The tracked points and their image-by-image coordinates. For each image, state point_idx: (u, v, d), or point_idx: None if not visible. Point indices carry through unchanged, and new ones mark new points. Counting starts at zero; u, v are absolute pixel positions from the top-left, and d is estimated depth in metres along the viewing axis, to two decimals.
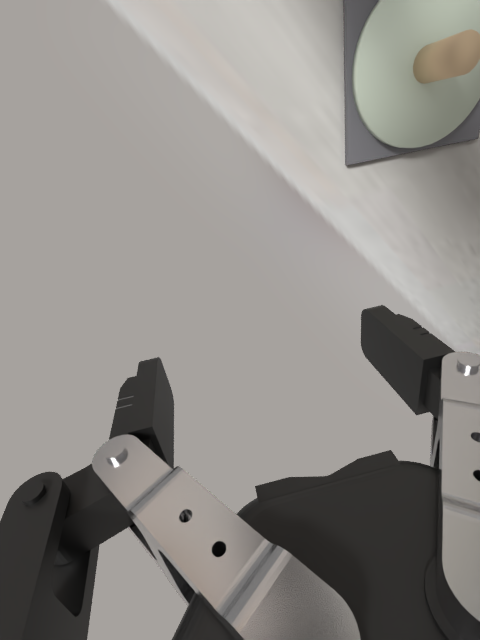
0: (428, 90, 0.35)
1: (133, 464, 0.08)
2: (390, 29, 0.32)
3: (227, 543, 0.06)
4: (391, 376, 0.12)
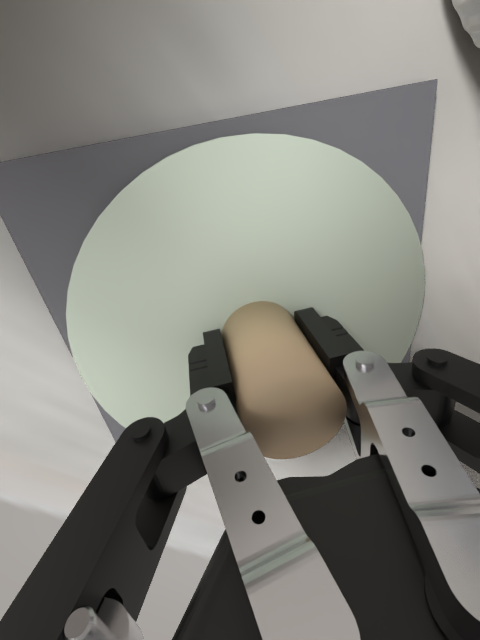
0: None
1: (225, 409, 0.09)
2: (134, 287, 0.12)
3: (267, 516, 0.06)
4: None
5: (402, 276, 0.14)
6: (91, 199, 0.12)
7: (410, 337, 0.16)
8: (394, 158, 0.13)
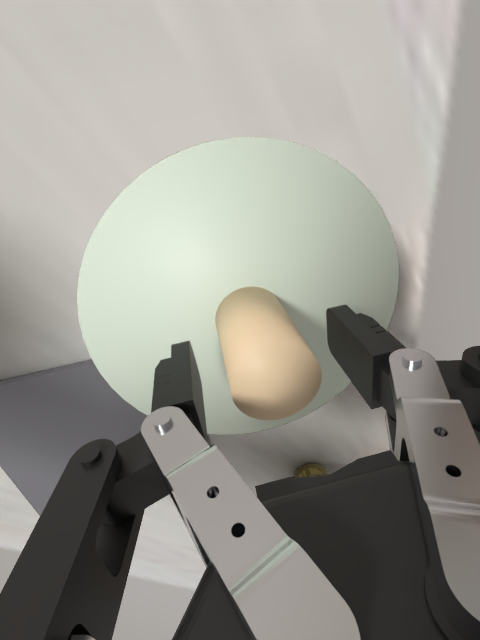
0: None
1: (180, 431, 0.09)
2: (137, 274, 0.14)
3: (247, 526, 0.06)
4: (351, 372, 0.12)
5: (377, 264, 0.16)
6: (3, 404, 0.24)
7: (388, 320, 0.18)
8: None
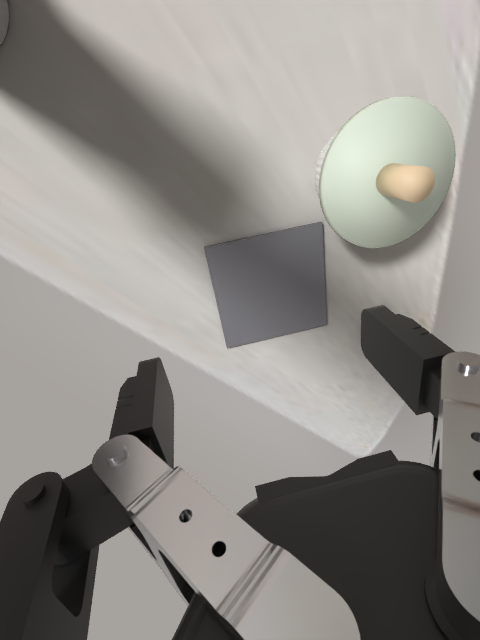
0: (391, 200, 0.37)
1: (133, 464, 0.08)
2: (351, 154, 0.34)
3: (227, 543, 0.06)
4: (390, 376, 0.12)
5: (446, 155, 0.36)
6: (230, 255, 0.45)
7: (448, 186, 0.38)
8: (312, 242, 0.46)
